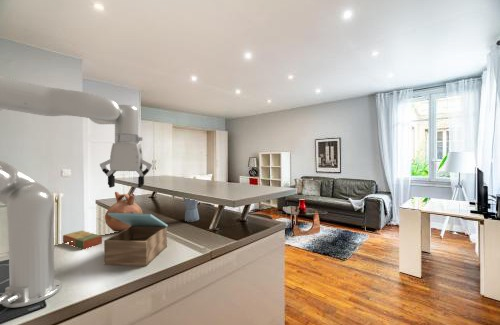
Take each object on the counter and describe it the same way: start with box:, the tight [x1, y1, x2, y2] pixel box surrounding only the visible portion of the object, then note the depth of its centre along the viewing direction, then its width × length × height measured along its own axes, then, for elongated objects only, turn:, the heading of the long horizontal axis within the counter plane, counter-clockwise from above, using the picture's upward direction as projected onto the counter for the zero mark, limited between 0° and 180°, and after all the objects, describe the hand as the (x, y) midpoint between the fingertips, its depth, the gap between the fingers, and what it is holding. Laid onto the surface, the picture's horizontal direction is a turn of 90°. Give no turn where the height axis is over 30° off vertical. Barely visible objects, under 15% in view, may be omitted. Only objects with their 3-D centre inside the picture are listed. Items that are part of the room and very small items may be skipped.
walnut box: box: [103, 226, 168, 267], centre depth 94 cm, size 18×16×9 cm
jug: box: [104, 191, 143, 233], centre depth 128 cm, size 18×18×20 cm
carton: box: [62, 230, 103, 250], centre depth 106 cm, size 8×16×4 cm, turn 64°
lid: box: [108, 212, 169, 228], centre depth 96 cm, size 18×17×2 cm
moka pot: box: [182, 197, 201, 223], centre depth 146 cm, size 10×15×20 cm, turn 145°
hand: (126, 187), depth 84 cm, fingers open, 9 cm apart
